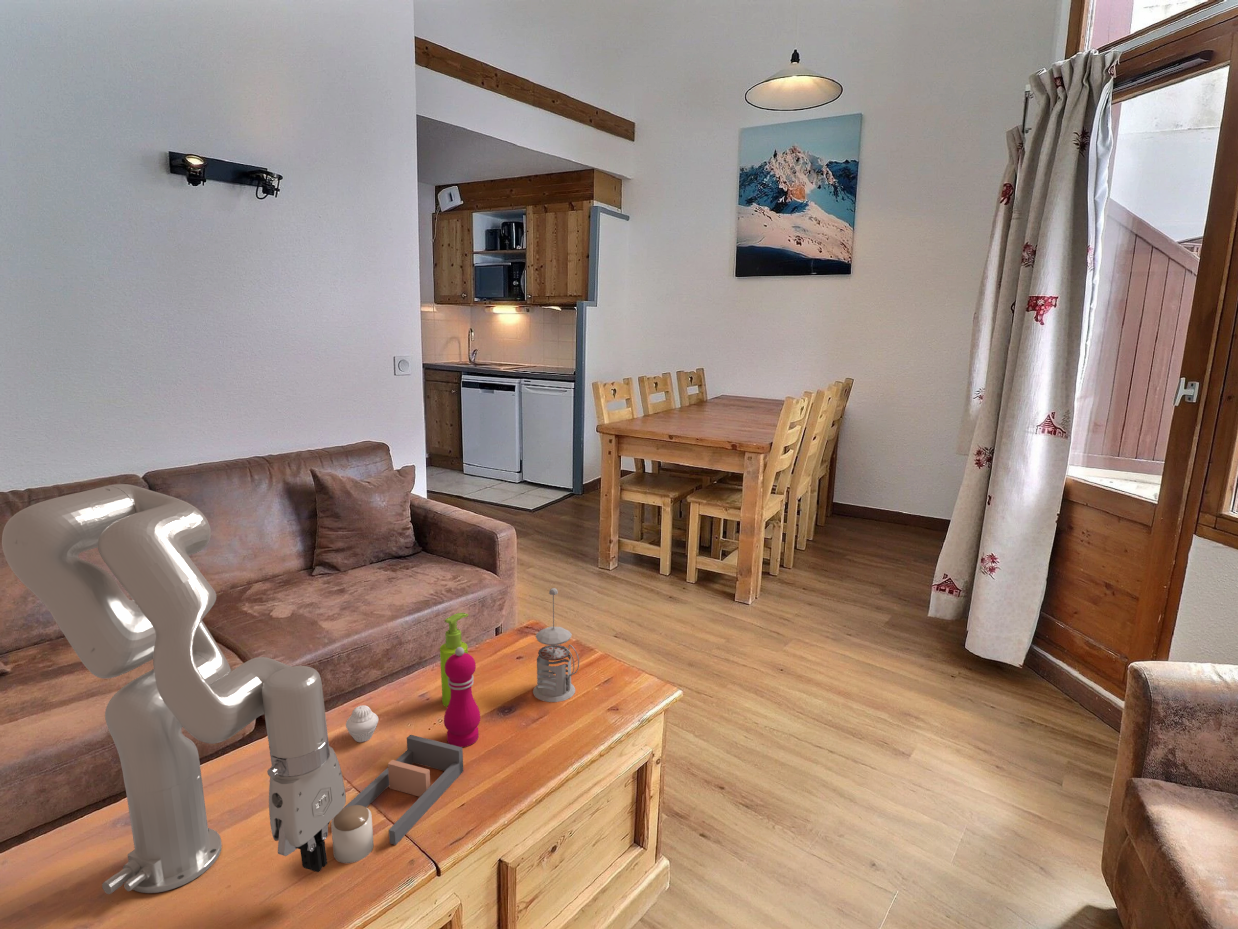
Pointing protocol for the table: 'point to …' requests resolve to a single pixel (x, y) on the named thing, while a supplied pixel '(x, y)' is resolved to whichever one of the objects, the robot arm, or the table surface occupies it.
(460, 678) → the pepper mill
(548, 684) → the french press
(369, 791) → the frame
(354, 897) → the table surface
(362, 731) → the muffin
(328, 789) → the robot arm
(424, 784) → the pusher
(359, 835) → the jar
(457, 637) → the soap dispenser
